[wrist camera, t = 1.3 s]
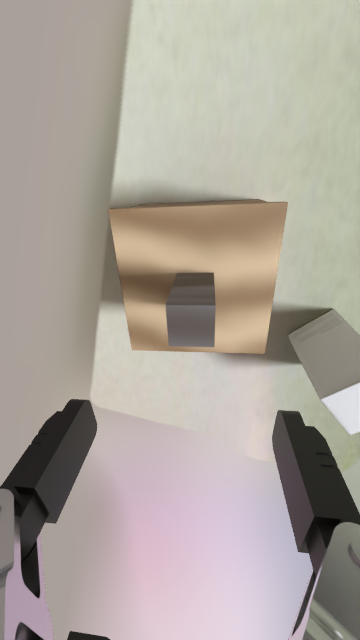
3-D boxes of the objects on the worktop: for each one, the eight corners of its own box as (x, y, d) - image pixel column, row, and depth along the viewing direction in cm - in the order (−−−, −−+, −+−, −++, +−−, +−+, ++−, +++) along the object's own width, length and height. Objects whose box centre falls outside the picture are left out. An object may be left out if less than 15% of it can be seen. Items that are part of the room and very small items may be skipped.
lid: (112, 208, 22) (66, 220, 15) (284, 201, 20) (324, 211, 13) (134, 345, 29) (110, 396, 22) (263, 348, 27) (281, 405, 20)
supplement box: (285, 334, 37) (317, 399, 26) (334, 306, 34) (394, 366, 23) (309, 365, 39) (349, 437, 28) (357, 342, 36) (422, 411, 25)
